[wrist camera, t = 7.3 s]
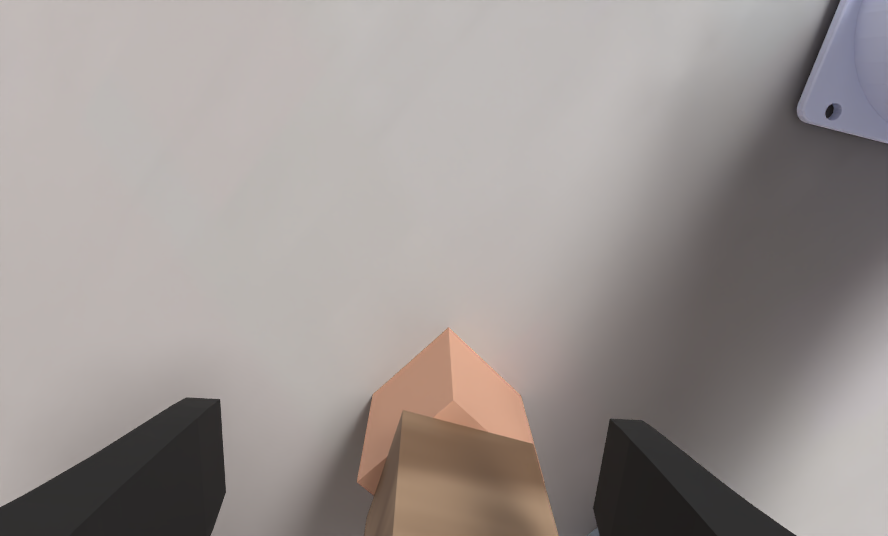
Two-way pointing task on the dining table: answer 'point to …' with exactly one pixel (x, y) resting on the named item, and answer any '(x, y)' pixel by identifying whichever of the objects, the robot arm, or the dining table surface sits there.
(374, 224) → the dining table surface
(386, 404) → the terracotta brick
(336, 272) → the dining table surface
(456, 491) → the walnut brick
